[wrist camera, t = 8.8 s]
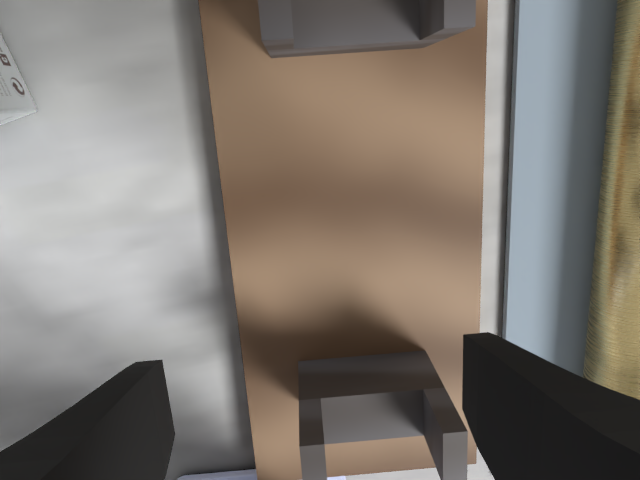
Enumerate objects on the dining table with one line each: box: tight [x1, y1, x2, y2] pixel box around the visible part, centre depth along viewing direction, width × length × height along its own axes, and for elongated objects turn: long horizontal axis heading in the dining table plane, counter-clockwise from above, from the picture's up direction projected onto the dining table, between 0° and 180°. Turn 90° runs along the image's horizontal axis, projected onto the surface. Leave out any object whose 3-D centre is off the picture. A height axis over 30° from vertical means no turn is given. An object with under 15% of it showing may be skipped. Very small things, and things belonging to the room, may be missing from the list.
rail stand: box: [198, 0, 488, 480], centre depth 17 cm, size 24×10×6 cm, turn 4°
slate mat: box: [502, 0, 617, 377], centre depth 20 cm, size 28×9×1 cm, turn 4°
